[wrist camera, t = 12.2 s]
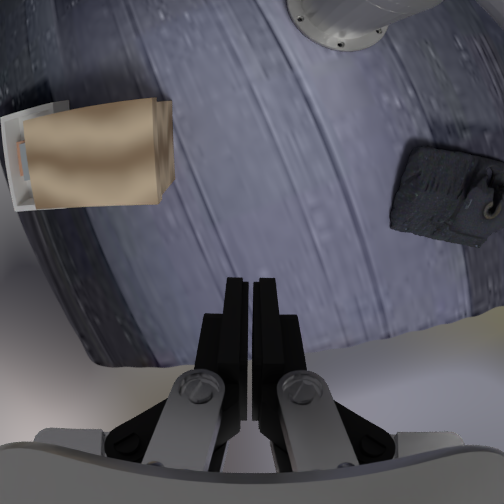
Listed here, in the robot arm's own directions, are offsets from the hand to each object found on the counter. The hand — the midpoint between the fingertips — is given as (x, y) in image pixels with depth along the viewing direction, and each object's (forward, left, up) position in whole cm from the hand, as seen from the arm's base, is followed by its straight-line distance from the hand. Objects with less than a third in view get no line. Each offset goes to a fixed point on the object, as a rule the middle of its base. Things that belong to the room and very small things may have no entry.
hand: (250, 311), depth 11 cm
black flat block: (+3, +30, -30) cm, 43 cm away
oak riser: (-2, -18, -29) cm, 34 cm away
